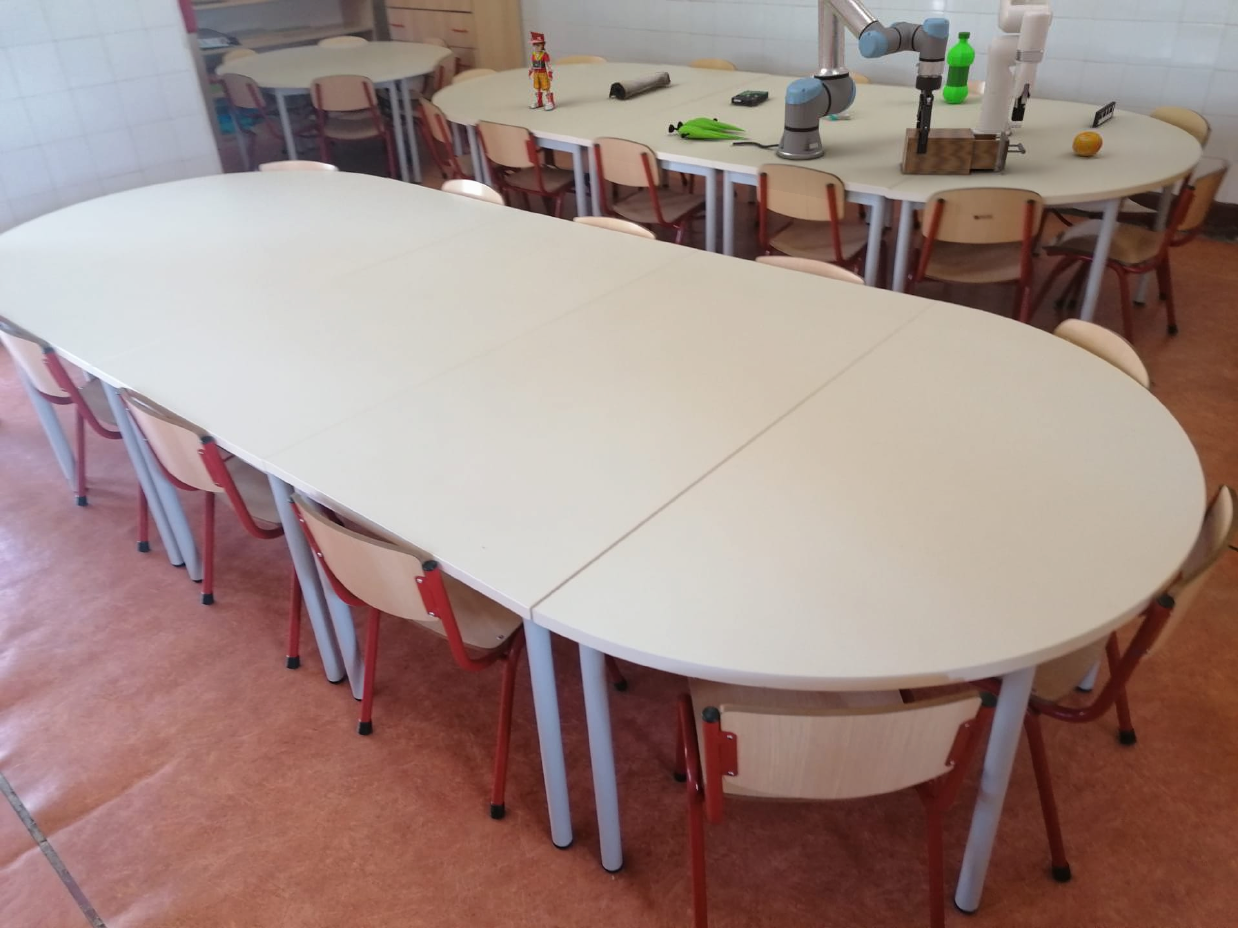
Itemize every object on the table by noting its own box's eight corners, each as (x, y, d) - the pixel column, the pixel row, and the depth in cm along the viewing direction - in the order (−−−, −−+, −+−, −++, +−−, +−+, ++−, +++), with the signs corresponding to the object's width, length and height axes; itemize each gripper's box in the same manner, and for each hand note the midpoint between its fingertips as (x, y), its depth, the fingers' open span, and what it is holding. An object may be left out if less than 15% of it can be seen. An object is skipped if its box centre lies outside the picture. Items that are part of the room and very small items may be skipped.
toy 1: (525, 109, 381) (517, 32, 364) (534, 104, 388) (527, 28, 371) (550, 110, 377) (543, 32, 360) (559, 105, 384) (553, 28, 367)
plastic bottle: (973, 101, 354) (984, 32, 339) (955, 106, 349) (966, 36, 335) (952, 97, 361) (962, 29, 346) (934, 102, 356) (944, 33, 342)
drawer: (1017, 161, 286) (1023, 132, 281) (1022, 171, 278) (1029, 140, 273) (939, 161, 291) (943, 132, 286) (942, 170, 283) (946, 140, 278)
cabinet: (964, 164, 290) (970, 128, 284) (968, 174, 282) (975, 138, 275) (901, 163, 294) (906, 128, 288) (903, 173, 285) (908, 137, 279)
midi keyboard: (1096, 127, 316) (1099, 112, 313) (1092, 126, 317) (1095, 112, 314) (1112, 116, 326) (1116, 101, 323) (1108, 115, 327) (1112, 101, 324)
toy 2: (657, 137, 330) (731, 151, 317) (658, 122, 327) (732, 136, 314) (693, 125, 350) (763, 137, 338) (694, 111, 347) (764, 123, 335)
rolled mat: (651, 76, 408) (662, 61, 399) (662, 93, 408) (674, 79, 400) (605, 92, 391) (616, 77, 383) (617, 110, 391) (628, 95, 383)
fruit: (1068, 146, 288) (1086, 124, 285) (1065, 149, 295) (1083, 127, 292) (1091, 161, 286) (1109, 138, 283) (1087, 163, 294) (1105, 141, 291)
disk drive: (753, 107, 365) (768, 98, 375) (754, 100, 363) (769, 91, 373) (730, 105, 370) (746, 96, 380) (730, 98, 368) (746, 89, 378)
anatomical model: (813, 89, 348) (838, 82, 348) (816, 116, 354) (841, 109, 353) (823, 98, 336) (849, 91, 335) (826, 126, 342) (852, 119, 341)
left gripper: (914, 67, 283) (905, 138, 295) (919, 84, 264) (909, 159, 276) (939, 66, 281) (929, 138, 294) (946, 83, 263) (935, 159, 275)
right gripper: (1011, 51, 271) (1000, 114, 282) (1019, 61, 259) (1007, 127, 270) (1038, 51, 270) (1025, 114, 280) (1047, 61, 258) (1033, 127, 268)
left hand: (919, 148), depth 285 cm, fingers open, 11 cm apart
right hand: (1016, 120), depth 275 cm, fingers closed
